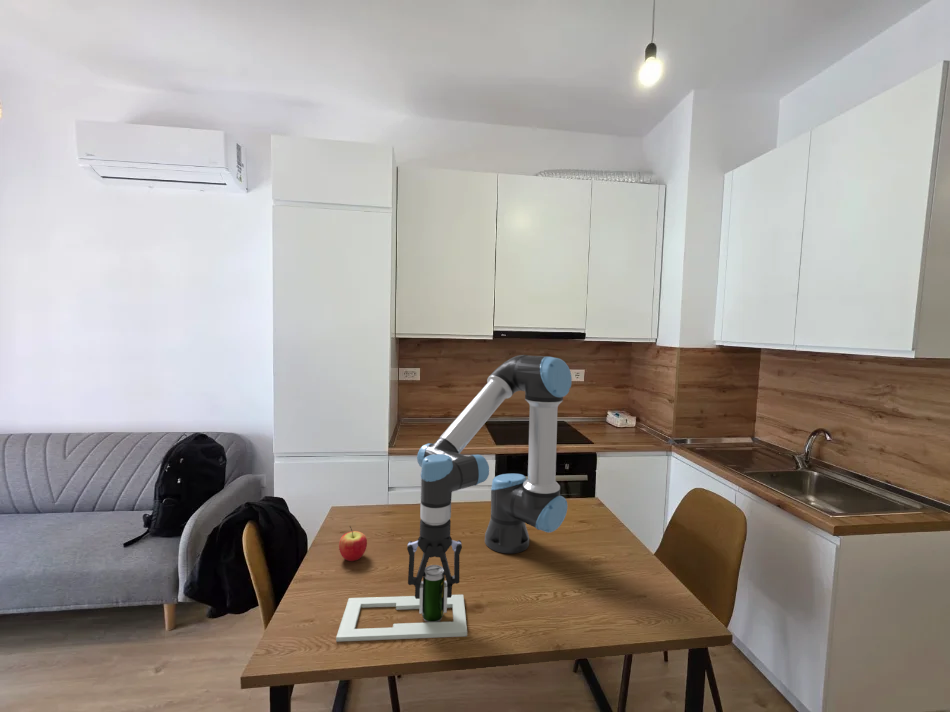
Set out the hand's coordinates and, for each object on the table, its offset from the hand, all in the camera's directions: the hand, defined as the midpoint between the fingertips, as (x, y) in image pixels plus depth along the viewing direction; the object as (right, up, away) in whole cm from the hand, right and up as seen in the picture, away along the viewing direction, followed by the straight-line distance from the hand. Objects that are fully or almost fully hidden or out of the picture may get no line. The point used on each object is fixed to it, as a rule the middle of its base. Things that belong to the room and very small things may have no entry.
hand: (433, 609), depth 103 cm
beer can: (0, -2, 0) cm, 2 cm away
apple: (-28, 0, +26) cm, 38 cm away
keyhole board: (-7, -2, -1) cm, 7 cm away
